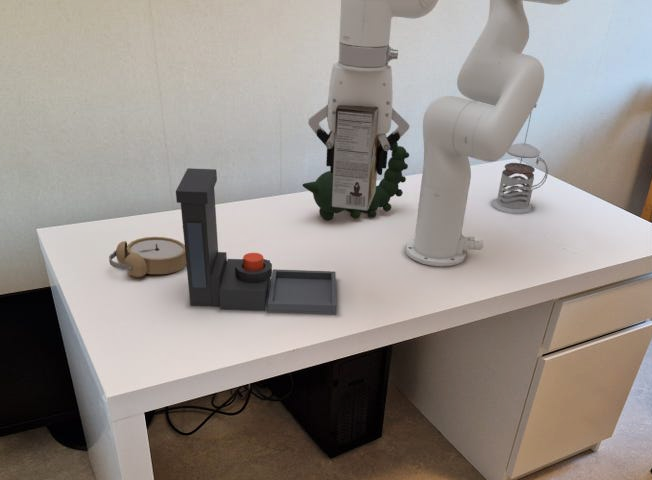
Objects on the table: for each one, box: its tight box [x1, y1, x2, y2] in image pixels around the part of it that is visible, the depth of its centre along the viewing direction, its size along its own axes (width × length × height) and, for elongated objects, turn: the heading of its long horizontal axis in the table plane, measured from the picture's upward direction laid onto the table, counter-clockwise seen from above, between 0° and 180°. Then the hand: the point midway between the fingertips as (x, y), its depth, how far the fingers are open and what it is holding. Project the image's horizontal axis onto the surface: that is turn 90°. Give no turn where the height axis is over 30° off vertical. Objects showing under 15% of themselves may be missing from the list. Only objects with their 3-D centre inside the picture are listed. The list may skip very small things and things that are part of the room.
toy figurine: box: [302, 141, 410, 222], centre depth 150 cm, size 9×19×25 cm
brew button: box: [242, 252, 264, 271], centre depth 119 cm, size 4×4×2 cm
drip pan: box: [267, 268, 337, 316], centre depth 123 cm, size 12×13×2 cm
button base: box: [219, 258, 273, 312], centre depth 121 cm, size 9×12×6 cm
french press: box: [491, 103, 549, 215], centre depth 158 cm, size 10×12×25 cm
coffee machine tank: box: [175, 168, 228, 308], centre depth 117 cm, size 6×11×22 cm, turn 1°
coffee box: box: [332, 105, 380, 210], centre depth 109 cm, size 9×6×16 cm
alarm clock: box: [108, 236, 187, 278], centre depth 129 cm, size 11×5×15 cm
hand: (355, 170), depth 110 cm, fingers closed on coffee box, 7 cm apart
